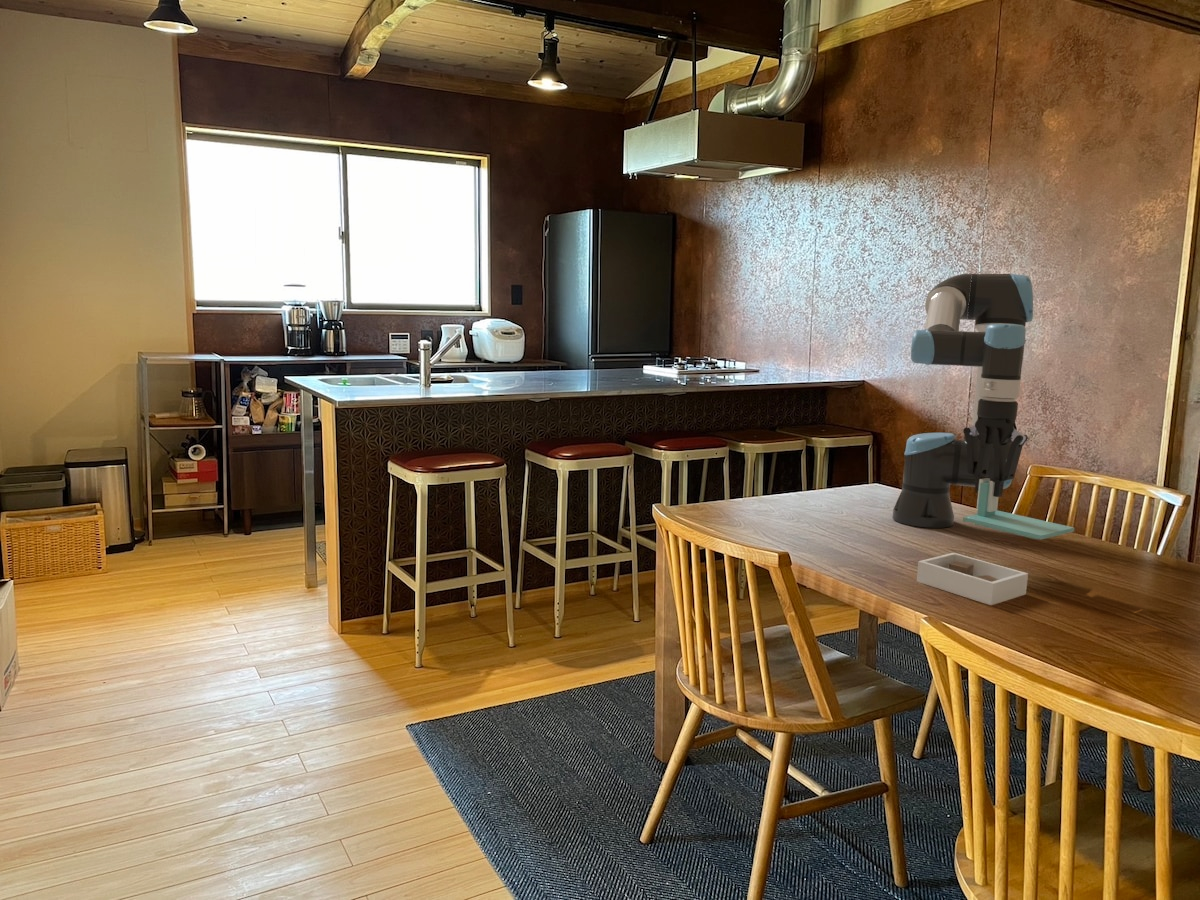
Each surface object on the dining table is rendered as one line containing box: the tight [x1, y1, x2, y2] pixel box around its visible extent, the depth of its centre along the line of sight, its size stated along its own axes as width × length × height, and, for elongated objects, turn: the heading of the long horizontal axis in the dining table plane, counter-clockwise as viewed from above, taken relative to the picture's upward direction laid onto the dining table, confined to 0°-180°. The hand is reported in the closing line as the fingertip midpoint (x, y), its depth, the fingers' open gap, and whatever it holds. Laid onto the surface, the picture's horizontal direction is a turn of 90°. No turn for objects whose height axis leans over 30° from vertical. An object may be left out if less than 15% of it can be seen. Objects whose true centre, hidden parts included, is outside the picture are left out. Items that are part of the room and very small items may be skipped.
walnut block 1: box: [949, 561, 974, 576], centre depth 174 cm, size 4×4×4 cm
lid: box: [962, 481, 1075, 540], centre depth 176 cm, size 13×17×8 cm
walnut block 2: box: [974, 575, 999, 582], centre depth 165 cm, size 4×4×4 cm
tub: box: [916, 552, 1029, 606], centre depth 170 cm, size 12×16×5 cm
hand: (986, 509), depth 182 cm, fingers closed on lid, 2 cm apart
